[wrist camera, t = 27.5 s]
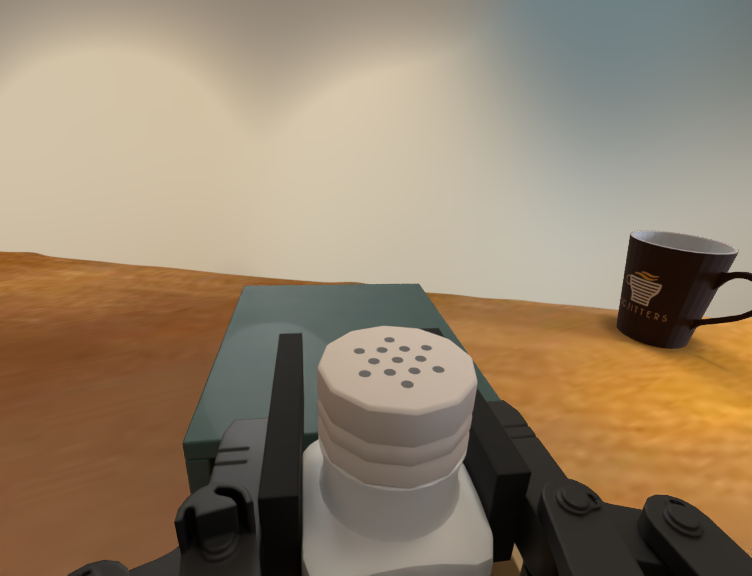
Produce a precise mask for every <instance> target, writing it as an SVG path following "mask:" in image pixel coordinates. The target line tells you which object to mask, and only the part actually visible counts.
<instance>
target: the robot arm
mask: <svg viewBox="0 0 752 576" xmlns="http://www.w3.org/2000/svg"><path fill="white" fill-rule="evenodd" d="M421 330H424V331H427V332H429V333H432V334H435V335H438V336H441V337H444V335H443V334H442V332H441V331H440V329H439V328H422V329H421ZM444 338H445V337H444ZM303 452H304V375H303V340H302V333H284V334H279V341H278V348H277V356H276V363H275V371H274V378H273V386H272V393H271V401H270V409H269V416H268V417H266V418H252V419H237V420H234V421H233V422H232V423H231V425H230V426H229V427H228V428H227V429H226V431H225V432H224V433H223V435H222V439H221V442H220V446H219V451H218V453H217V457H216V461H215V466H214V468H213V472H212V475H211V479H210V483H209V485H207V486H205V487H202V488H200V489H199V490H197V491H196V492H194V493H193V494H192V495H190V496H189V497H188V498H187V499H186V500H185V501H184V503H183V504H182V505H181V507H180V508H179V509H178V512H177V515H176V518H175V522H174V523H175V528H176V533H177V538H178V543H179V547H177V548H176V549H175V550H173V551H172V552H170V553H169V554H167V555H165V556H163V557H161V558H159V559H156V560H154V561H151V562H149V563H146V564H144V565H142V566H139V567H137V568H134V569H132V570H129V571H128V568H127V567H125V566H124V565H122V564H121V563H120V562H118V561H110V560H102V561H98V562H94V563H90V564H87V565H85V566H83V567H81V568H79V569H77V570H75V571H74V572H72V573H70V574H69V575H67V576H302V553H301V502H302V455H303ZM463 464H464V466H465V467H466V469H467V471H468V473H469V476H470V478H471V480H472V482H473V485H474V487H475V489H476V491H477V494H478V496H479V498H480V501H481V504H482V506H483V509H484V512H485V515H486V517H487V520H488V523H489V526H490V528H491V531H492V534H493V563H495V562H502V561H509V560H511V556H512V552H513V547H514V543H515V545H516V547H517V549H518V551H519V553H520V555H521V557H522V559H523V564H522V568H521V572H520V575H519V576H752V558H751V557H750V556H749V555H748V554H747V553H746V552H745V551H744V550H742V549H741V548H740V547H739V546H738V545H737V544H736V543H735V542H734V541H733V540H732V539H731V538H730V537H729V536H728V535H727V534H726V533H724V532H723V531H722V530H721V529H720V528H719V527H718V526H717V525H716V524H715V523H714V522H713V521H712V520H711V519H710V518H709V517H707V516H706V515H705V514H704V513H702V512H701V511H700V510H698V509H697V508H696V507H694V506H693V505H691V504H689V503H687V502H685V501H683V500H681V499H678V498H675V497H672V496H668V495H654V496H651V497H649V498H647V501H646V503H645V505H644V507H643V510H640V509H635V508H629V507H624V506H618V505H613V504H609V503H605V502H603V501H602V500H601V498H600V497H599V496H598V495H597V494H596V493H595V492H594V491H592V490H591V489H590V488H589V487H587V486H586V485H584V484H582V483H579V482H577V481H575V480H572V479H568V478H567V477H566V476H565V474H564V473H563V471H562V470H561V469H560V467H559V466H558V465H557V463H556V462H555V461H554V459H553V458H552V456H551V455H550V454H549V452H548V451H547V450H546V448H545V447H544V446H543V444H542V443H541V442H540V440H539V439H538V438H536V436H535V433H534V432H533V431H532V429H531V428H530V427H528V424H527V423H526V421H525V420H524V418H523V417H522V416H521V414H520V413H519V412H518V411H517V410H516V409H515V408H513V407H512V406H511V405H509V404H508V403H506V402H505V401H504V400H499V401H486V400H485V399H484V397H483V396H482V394H481V393H480V391H479V390H478V388H477V390H476V396H475V402H474V408H473V411H472V421H471V427H470V429H469V440H468V447H467V452H466V456H465V458H464V460H463Z"/></svg>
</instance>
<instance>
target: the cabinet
mask: <svg viewBox="0 0 752 576" xmlns="http://www.w3.org/2000/svg"><path fill="white" fill-rule="evenodd" d="M379 326H393V327H405V328H418V329H422V328H439V329H440V331H441V332H442V334H443V335H444V337H445V338H447V339H449V340H451V341H452V342H453V343H454V344H456V345H457V346H458V347H459V348H461V349H462V350H463V351H464V352H466V353H467V351H466V350H465V349H464V347H463V346H462V344H461V343H460V341H459V340H458V339H457V337H456V336H455V334H454V333H453V331H452V330H451V329H450V327H449V326H448V324H447V323H446V322H445V320H444V319H443V317H442V316H441V314H440V313H439V312H438V310H437V309H436V307H435V306H434V304H433V303H432V302H431V300H430V299H429V297H428V296H427V295H426V293H425V292H424V290H423V289H422V288H421V286H420V285H419V284H357V285H280V286H244V288H243V290H242V293H241V295H240V298H239V300H238V303H237V305H236V308H235V311H234V313H233V316H232V318H231V321H230V323H229V326H228V328H227V331H226V333H225V336H224V339H223V341H222V344H221V346H220V349H219V351H218V354H217V356H216V359H215V362H214V364H213V367H212V369H211V372H210V374H209V377H208V379H207V382H206V385H205V387H204V390H203V392H202V395H201V397H200V400H199V402H198V405H197V408H196V410H195V413H194V415H193V418H192V420H191V423H190V425H189V428H188V430H187V433H186V436H185V438H184V441H183V450H184V456H185V459H186V467H187V474H188V480H189V486H190V492H191V495H192V494H193V493H194V492H196V491H197V490H199V489H200V488H202V487H205V486H207V485H209V483H210V479H211V475H212V472H213V468H214V466H215V461H216V457H217V453H218V451H219V446H220V442H221V439H222V435H223V433H224V432H225V431H226V429H227V428H228V427H229V426H230V425H231V423H232V422H233V421H234V420H237V419H252V418H266V417H268V416H269V409H270V401H271V393H272V386H273V378H274V371H275V363H276V356H277V348H278V341H279V334H284V333H302V340H303V375H304V451H305V450H306V449H307V448H308V446H309V445H310V444H312V443H313V442H315V441H317V440H318V417H319V414H318V400H319V397H318V380H317V367H318V365H319V363H320V360H321V358H322V356H323V353H324V351H325V349H326V346H327V345H328V344H330V343H331V342H333V341H335V340H337V339H338V338H340V337H342V336H344V335H345V334H347V333H349V332H351V331H355V330H361V329H367V328H373V327H379ZM467 354H468V353H467ZM468 355H469V354H468ZM472 361H473V360H472ZM473 365H474V369H475V373H476V377H477V382H478V383H477V388H478V390H479V391H480V393H481V394H482V396H483V397H484V399H485V400H486V401H499V400H500V398H499V397H498V396H497V394H496V393H495V391H494V390H493V388H492V387H491V386H490V384H489V383H488V381H487V380H486V378H485V377H484V376H483V374H482V373H481V371H480V370H479V368H478V367H477V366H476V364H475V363H474V361H473Z"/></svg>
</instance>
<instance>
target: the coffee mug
mask: <svg viewBox="0 0 752 576" xmlns="http://www.w3.org/2000/svg"><path fill="white" fill-rule="evenodd" d="M738 252H739V250H738V249H737V248H735V247H733V246H731V245H729V244H726V243H723V242H719V241H715V240H712V239H707V238H703V237H698V236H692V235H687V234H680V233H673V232H663V231H634V232H632V233H631V234H630V240H629V246H628V253H627V259H626V266H625V273H624V279H623V286H622V293H621V299H620V306H619V312H618V319H617V328H618V329H619V330H620V331H621V332H622V333H623V334H625V335H627V336H628V337H630V338H632V339H635V340H637V341H640V342H642V343H646V344H649V345H653V346H657V347H663V348H682V347H684V346H686V345H687V343H688V342H689V340H690V338H691V336H692V335H693V333H694V331H695V329H696V327H698V326H700V325H706V324H718V323H727V322H734V321H739V320H742V319H746V318H749V317H752V310H751V311H749V312H746V313H744V314H741V315H736V316H728V317H720V318H711V319H702V317H703V315H704V313H705V311H706V309H707V308H708V306H709V304H710V302H711V301H712V299H713V297H714V295H715V293H716V291H717V290H718V288H719V287H720V286H722V285H723V284H724V283H726V282H727V281H729V280H732V279H735V278H744V279H748V280H750V281H752V273H749V272H732V273H727V272H728V270H729V268H730V267H731V265H732V263H733V261H734V259H735V258H736V256H737V254H738Z"/></svg>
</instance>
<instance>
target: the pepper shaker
mask: <svg viewBox="0 0 752 576" xmlns="http://www.w3.org/2000/svg"><path fill="white" fill-rule="evenodd" d="M317 380H318V397H319V400H318V414H319V417H318V440H317V441H315V442H313V443H312V444H310V445H309V446H308V448H307V449H306V450H305V451H304V452H303V455H302V502H301V553H302V576H490V575H491V571H492V566H493V534H492V531H491V528H490V526H489V523H488V520H487V517H486V515H485V512H484V509H483V506H482V504H481V501H480V498H479V496H478V494H477V491H476V489H475V487H474V485H473V482H472V480H471V478H470V476H469V473H468V471H467V469H466V467H465V466H464V464H463V460H464V458H465V456H466V452H467V447H468V440H469V429H470V427H471V421H472V411H473V408H474V402H475V396H476V390H477V383H478V382H477V377H476V373H475V369H474V365H473V361H472V358H471V356H469V355H468V354H467V353H466V352H464V351H463V350H462V349H461V348H459V347H458V346H457V345H456V344H454V343H453V342H452V341H451V340H449V339H447V338H444V337H441V336H438V335H435V334H432V333H429V332H427V331H424V330H421V329H418V328H405V327H393V326H379V327H373V328H367V329H361V330H355V331H351V332H349V333H347V334H345V335H344V336H342V337H340V338H338V339H337V340H335V341H333V342H331V343H330V344H328V345H327V346H326V349H325V351H324V353H323V356H322V358H321V360H320V363H319V365H318V367H317Z"/></svg>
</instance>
